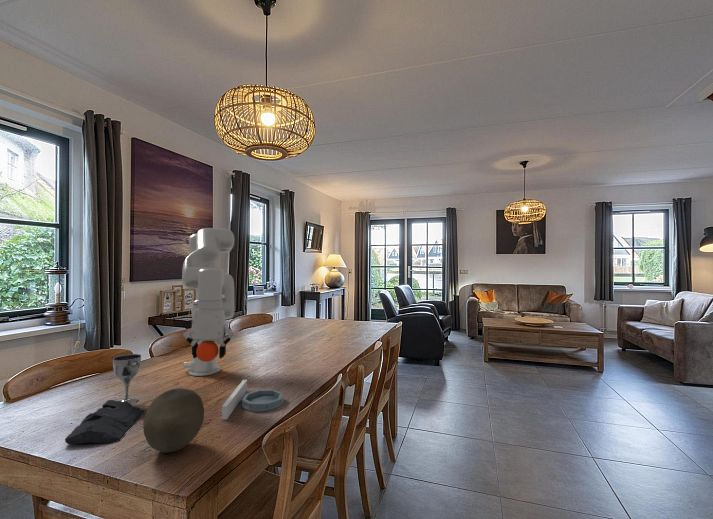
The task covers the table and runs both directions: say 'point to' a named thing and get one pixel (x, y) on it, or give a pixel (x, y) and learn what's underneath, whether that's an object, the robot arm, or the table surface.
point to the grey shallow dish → (262, 400)
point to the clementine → (207, 351)
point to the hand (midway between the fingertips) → (208, 356)
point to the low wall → (234, 400)
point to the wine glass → (127, 371)
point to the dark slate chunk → (106, 423)
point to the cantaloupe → (173, 419)
